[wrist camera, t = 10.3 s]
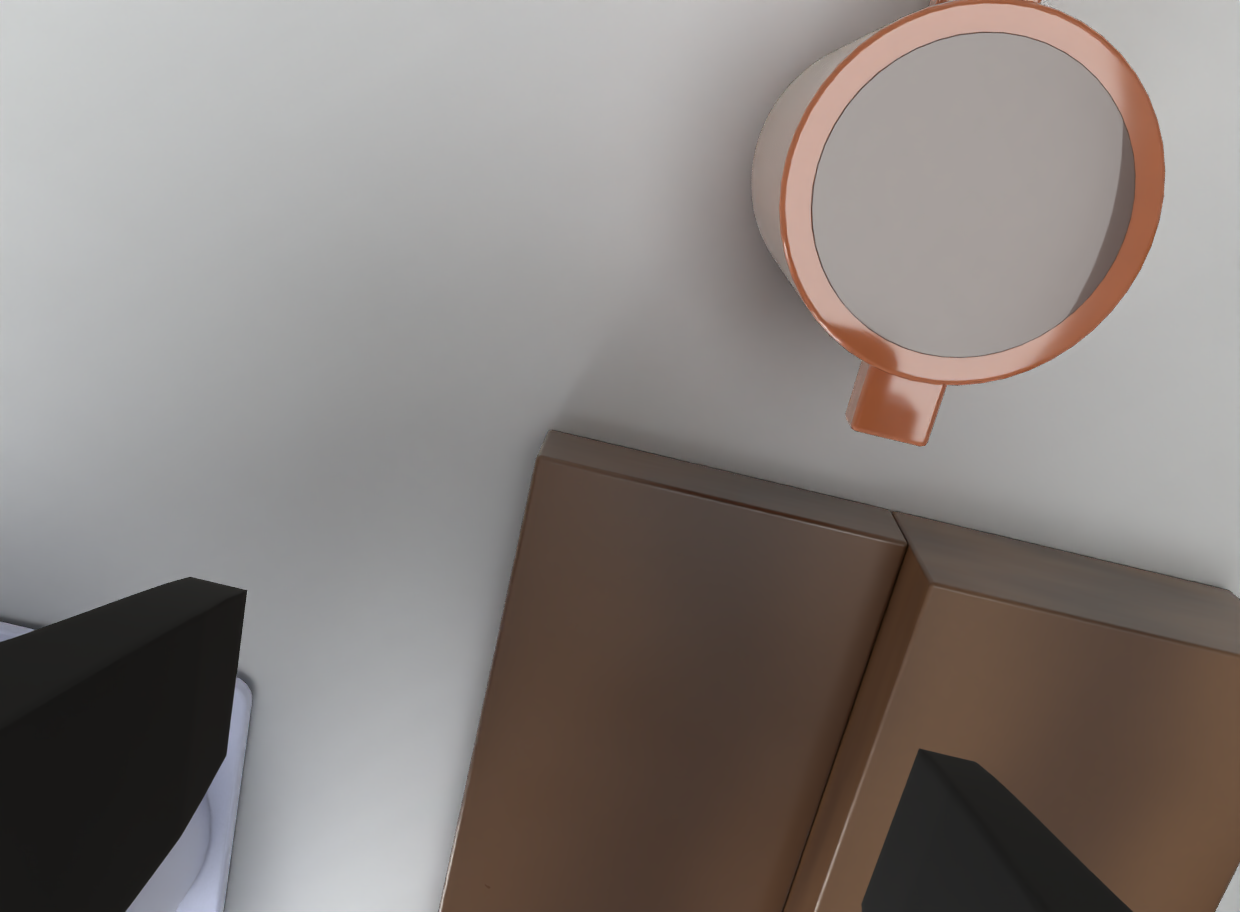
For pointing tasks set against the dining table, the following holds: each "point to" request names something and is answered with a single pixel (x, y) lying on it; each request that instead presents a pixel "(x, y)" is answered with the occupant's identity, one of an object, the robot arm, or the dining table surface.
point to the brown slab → (823, 698)
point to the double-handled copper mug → (959, 198)
